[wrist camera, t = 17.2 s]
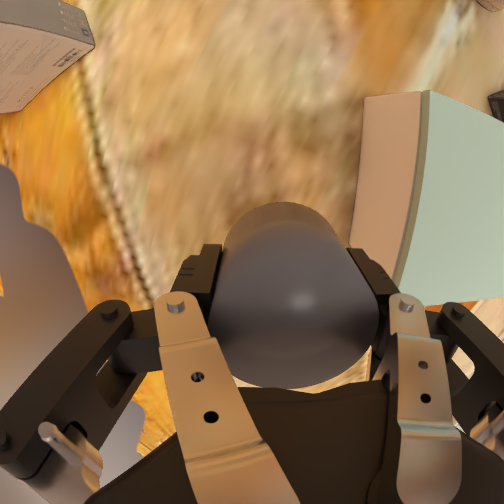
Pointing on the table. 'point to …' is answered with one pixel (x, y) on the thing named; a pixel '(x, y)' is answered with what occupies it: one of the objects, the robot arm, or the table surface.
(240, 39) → the table surface
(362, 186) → the storage box
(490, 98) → the small box
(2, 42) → the hard drive box
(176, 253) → the table surface
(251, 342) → the dark grey cylinder
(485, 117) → the lid
